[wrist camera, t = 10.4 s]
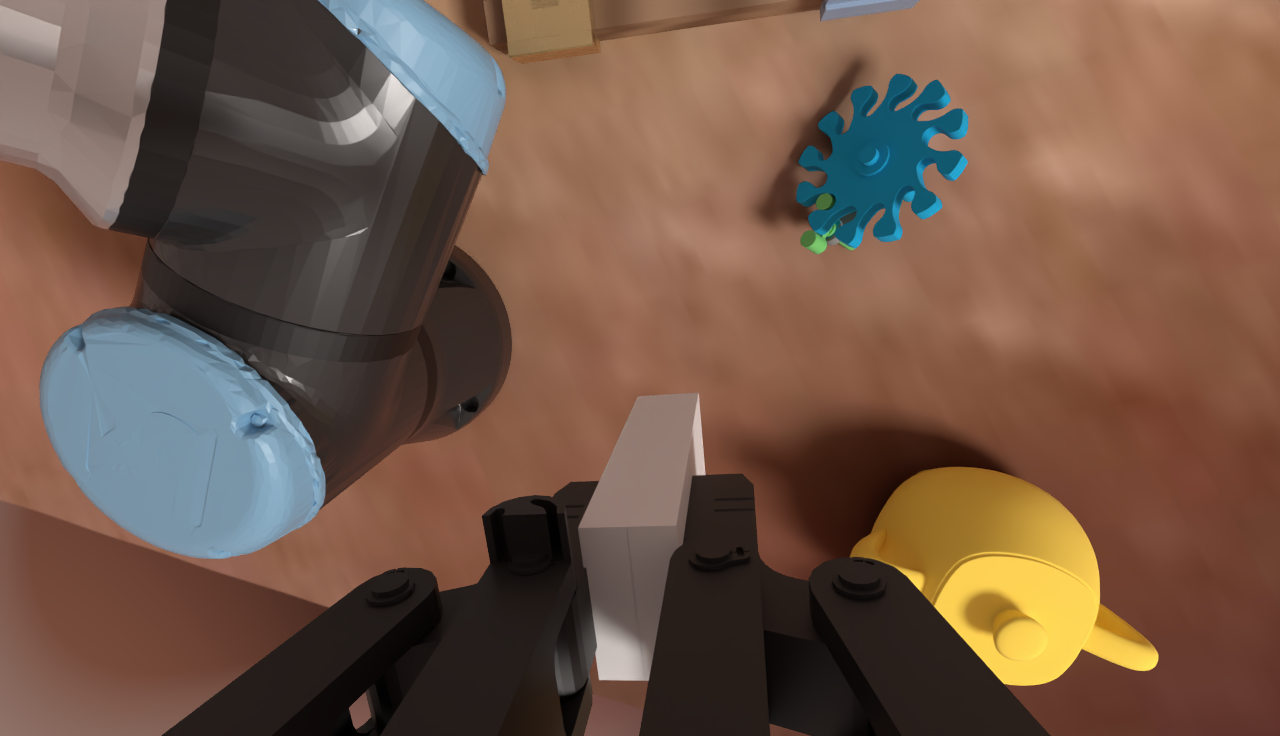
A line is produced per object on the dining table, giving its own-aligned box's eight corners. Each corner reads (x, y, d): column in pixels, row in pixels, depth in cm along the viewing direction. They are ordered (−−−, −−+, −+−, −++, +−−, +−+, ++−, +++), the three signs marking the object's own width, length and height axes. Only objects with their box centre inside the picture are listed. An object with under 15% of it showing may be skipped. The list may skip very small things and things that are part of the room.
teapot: (808, 499, 48) (832, 596, 36) (1003, 410, 44) (1096, 486, 33) (895, 648, 50) (943, 783, 38) (1087, 575, 46) (1202, 700, 35)
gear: (880, 38, 38) (1005, 123, 32) (922, 89, 42) (1039, 172, 36) (751, 191, 42) (839, 289, 36) (799, 223, 46) (886, 316, 40)
